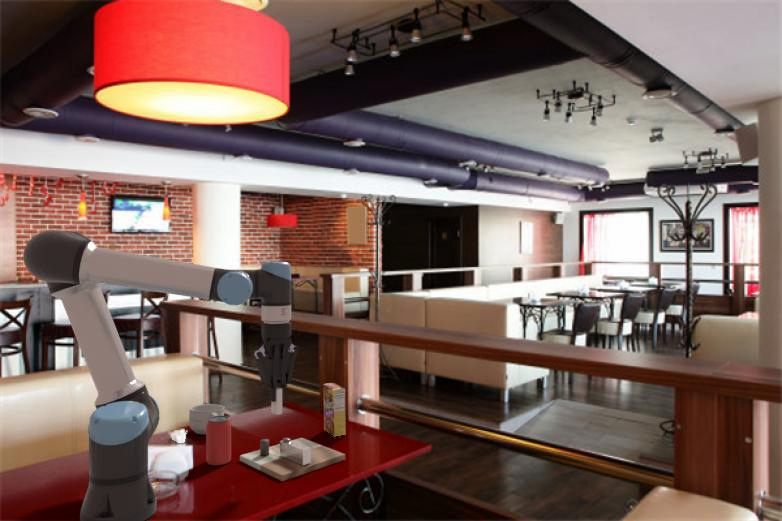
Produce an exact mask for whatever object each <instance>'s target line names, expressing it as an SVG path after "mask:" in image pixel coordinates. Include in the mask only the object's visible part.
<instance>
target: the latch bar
mask: <svg viewBox="0 0 782 521" xmlns="http://www.w3.org/2000/svg"><path fill="white" fill-rule="evenodd" d="M279 444H280V456H282V457H284V458H287V459H289V460H291V461H294V462H296V463H298V464H301V465H306V464H309V463H311V448H310V447H307V446H305V445H302V444H300V443H297V442H295V441H292V438H290V437H283V438H282V440H280V441H279Z"/></svg>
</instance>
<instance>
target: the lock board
mask: <svg viewBox="0 0 782 521" xmlns="http://www.w3.org/2000/svg"><path fill="white" fill-rule="evenodd" d="M291 440H292V439H291ZM292 441H295V442H297V443H300V444H302V445H305V446H307V447H310V448H311V463H309V464H306V465H301V464H298V463H296V462H294V461H291V460H289V459H287V458H284V457H282V456H280V443H278V444H275V445H272V446H270V439H268V438H264V439H260V440H259V444H260V446H259V447H260V448H259V449H258V450H253V451H251V452H248V453H244V454H243V453H242V454H241V455H239V461H240V462H242V463H243V464H246V465H248V466H250V467H251V468H254V469H256V470H258V471H260V472H262V473H264V474H266V475H268V476H271V477H272V478H274V479H277V480H279V481H281V482H285V481H288V480H291V479H293V478H295V477H299V476H302V475H305V474H309V473H311V472H313V471H316V470H319V469H322V468H326V467H328V466H331V465H333V464H336V463H340V462H342V460H343V461H345V460H346V453H342V452H340V451H338V450H335V449H333V448H330V447H327V446H324V445H322V444H319V443H317V442H315V441H312V440H309V439H306V438H303V437H300V438H296V439H293V440H292Z"/></svg>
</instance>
